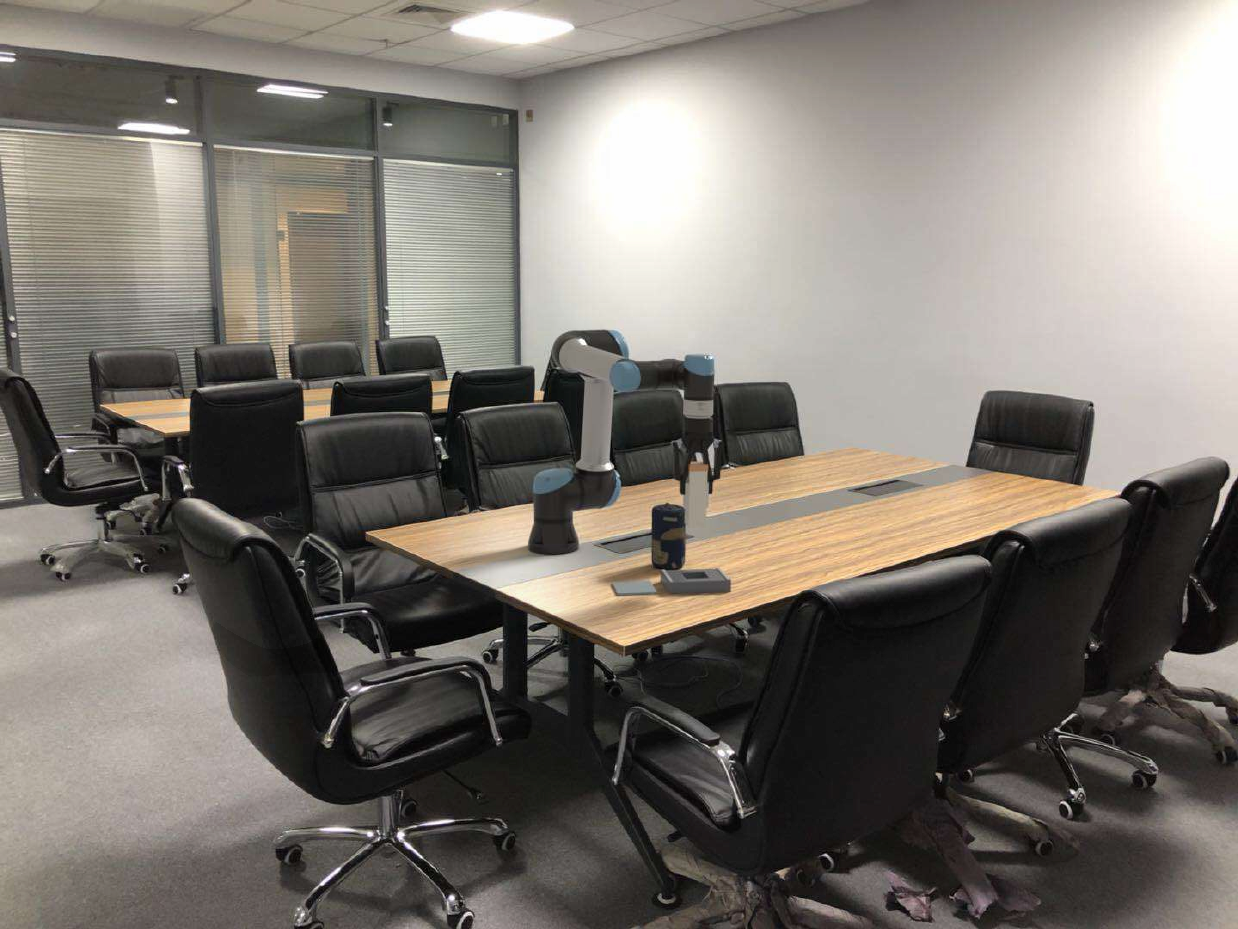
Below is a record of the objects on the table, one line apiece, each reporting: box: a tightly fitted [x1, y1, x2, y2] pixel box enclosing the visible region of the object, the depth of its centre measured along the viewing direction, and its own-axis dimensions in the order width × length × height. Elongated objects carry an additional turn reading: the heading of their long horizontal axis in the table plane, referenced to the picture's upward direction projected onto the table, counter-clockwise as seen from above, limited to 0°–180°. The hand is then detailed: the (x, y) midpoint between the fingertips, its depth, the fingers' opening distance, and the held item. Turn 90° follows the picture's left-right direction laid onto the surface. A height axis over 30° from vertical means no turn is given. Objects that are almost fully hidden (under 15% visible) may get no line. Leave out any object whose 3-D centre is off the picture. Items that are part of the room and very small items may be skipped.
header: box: [660, 566, 732, 595], centre depth 251 cm, size 16×11×3 cm
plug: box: [684, 461, 708, 528], centre depth 247 cm, size 5×5×16 cm
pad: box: [611, 579, 658, 596], centre depth 249 cm, size 10×10×1 cm
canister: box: [650, 502, 687, 570], centre depth 269 cm, size 10×10×18 cm
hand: (695, 506), depth 248 cm, fingers closed on plug, 4 cm apart
